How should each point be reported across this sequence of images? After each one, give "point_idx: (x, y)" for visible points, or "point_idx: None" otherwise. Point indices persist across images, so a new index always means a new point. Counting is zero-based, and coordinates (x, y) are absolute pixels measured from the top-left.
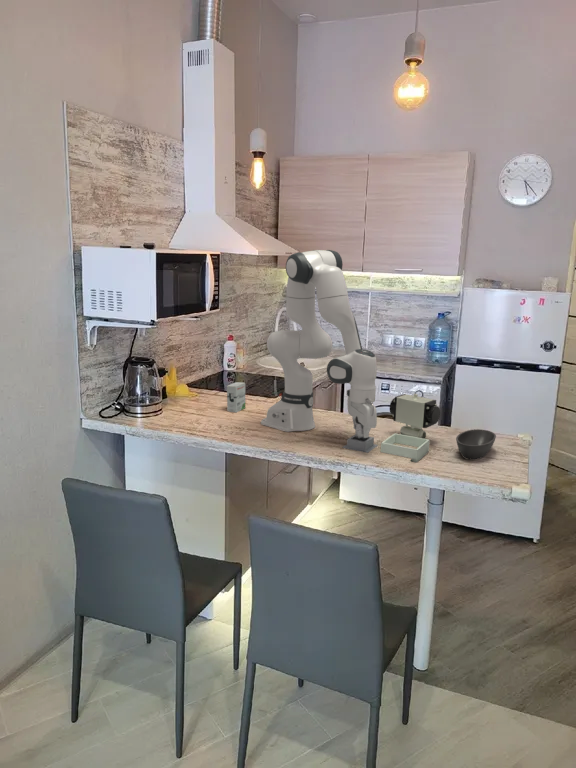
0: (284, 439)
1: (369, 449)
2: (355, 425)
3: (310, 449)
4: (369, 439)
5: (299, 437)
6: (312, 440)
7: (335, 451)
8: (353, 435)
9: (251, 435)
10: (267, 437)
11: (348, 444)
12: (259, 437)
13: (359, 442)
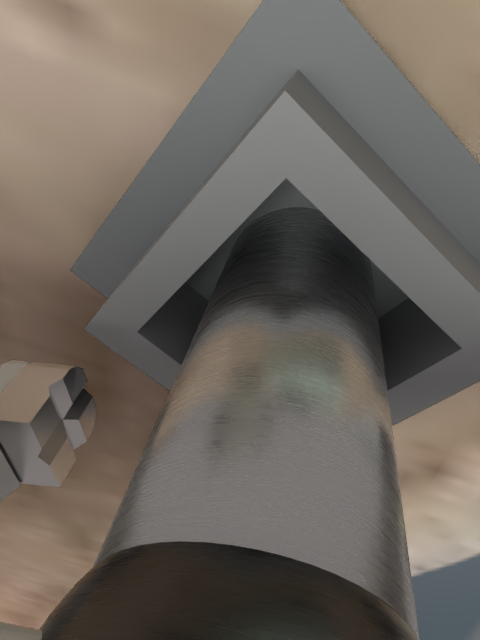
0: (59, 571)
1: (462, 208)
2: (61, 478)
3: None
4: (389, 235)
5: (9, 517)
6: (55, 487)
7: None
8: (152, 377)
9: (24, 625)
10: (40, 602)
11: None
12: (46, 618)
13: (427, 394)
